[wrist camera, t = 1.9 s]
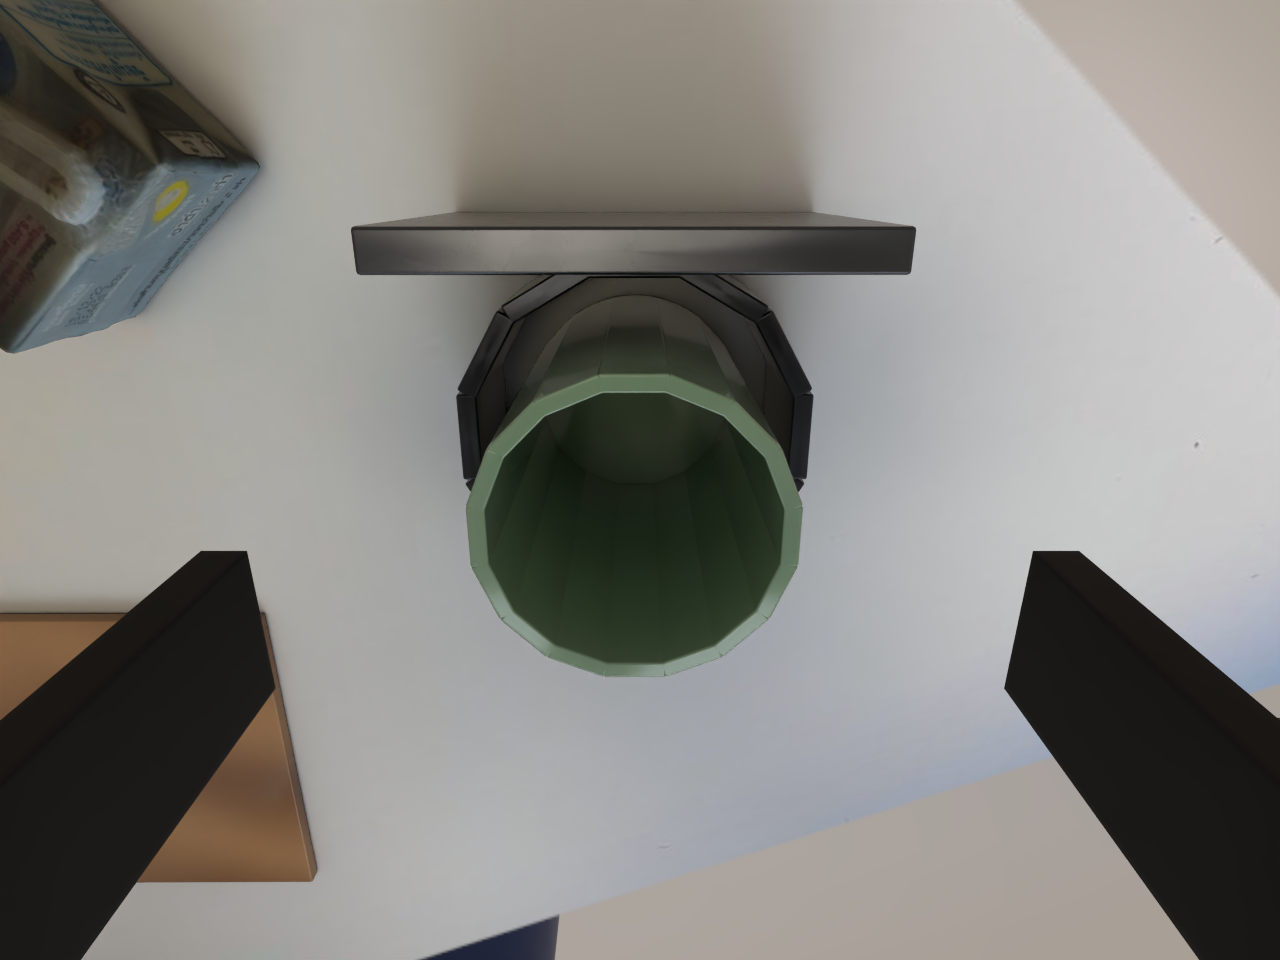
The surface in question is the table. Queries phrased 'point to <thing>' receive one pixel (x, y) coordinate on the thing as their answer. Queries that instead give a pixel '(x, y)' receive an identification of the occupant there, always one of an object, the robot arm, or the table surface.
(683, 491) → the cup
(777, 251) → the ring cup holder
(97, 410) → the table surface
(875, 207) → the table surface
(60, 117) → the beverage carton
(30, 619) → the cork tile
